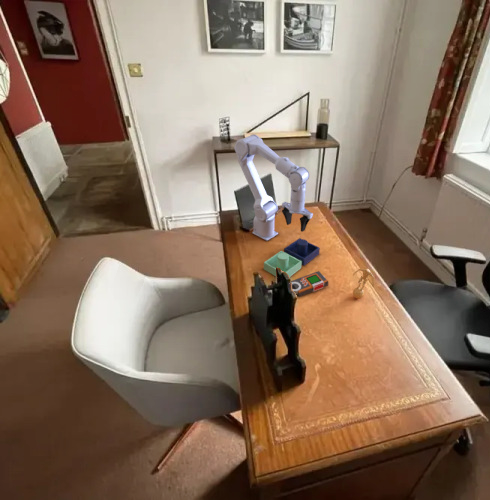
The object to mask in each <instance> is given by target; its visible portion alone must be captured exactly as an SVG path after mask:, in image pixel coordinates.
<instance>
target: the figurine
mask: <svg viewBox="0 0 490 500" xmlns="http://www.w3.org/2000/svg"><path fill="white" fill-rule="evenodd" d="M359 271H361V272H362V275H360V277H359V279H358V280H357V283H358V285H357V287H355V288H354V289H353V290H352V296H353V297H354V298H355V299H357V300H360V299H362V298H364V294H365V292H364V290H363V289H364V287H365V285H366V284H367V282H368V277H369V276H370V277H371V278H372V284H371V287H374V286H375V276H374V275H373V273H372V272H371V270H370V269H369V268H358V269H357V270H356V271H354V273H353V274H352V276H355V274H357V273H358V272H359ZM361 282H362V283H361ZM361 285H362V286H361ZM360 286H361V287H360Z"/></svg>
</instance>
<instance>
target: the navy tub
mask: <svg viewBox="0 0 490 500" xmlns="http://www.w3.org/2000/svg"><path fill="white" fill-rule="evenodd" d="M300 239H302V238H300V237H299V238H297V239H296V240H295V241H293V242H292V243H290V244H288V245H287V246H286V247H284V248H283V252H285V253H287V254H289V255H291V256H292V257H294V258H296V259H298V260H300V261H302V265H301V266H303V267H304V266H306V265H307V264H309V263H310V262H312V260H314V259H315V258H316V257H318V256H319V255H320V250H321V249H320V247H319V246H317V245H315V244H313V243H311V242H309V241H308V247H307V255H306V256H304V257H301V256H299V255H297V254H296V252H297V241H298V240H300Z"/></svg>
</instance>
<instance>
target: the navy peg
mask: <svg viewBox="0 0 490 500" xmlns="http://www.w3.org/2000/svg"><path fill="white" fill-rule="evenodd" d="M297 240H298V239H297ZM308 242H309V241H308V240H307V239H304V238H301V239H300V240H298V241H297V252H296V254H297V255H299V256H301V257H304V256H306V255H307V247H308Z"/></svg>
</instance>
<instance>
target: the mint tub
mask: <svg viewBox="0 0 490 500" xmlns="http://www.w3.org/2000/svg"><path fill="white" fill-rule="evenodd" d="M279 253H285V252H284V250H280V251H278V252H277V253H276V254H274V255H272V256H271V257H269V258H268V259H266V260H265V261H264V262H263V270H264V271H266V272H267V273H269V274H271V275H272V276H275V277H276V268H277V256H278V254H279ZM288 255H289V254H288ZM302 266H303V265H302V261H300V260H298V259H296V258H294V257H292V256H291V255H289V262H288V270H286V271H284V272H286V273H287V274H288V275H289V278H291V277H292V276H293V275H295V274H296V273H297V272H298V271H299V270H301V269H302Z"/></svg>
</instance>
